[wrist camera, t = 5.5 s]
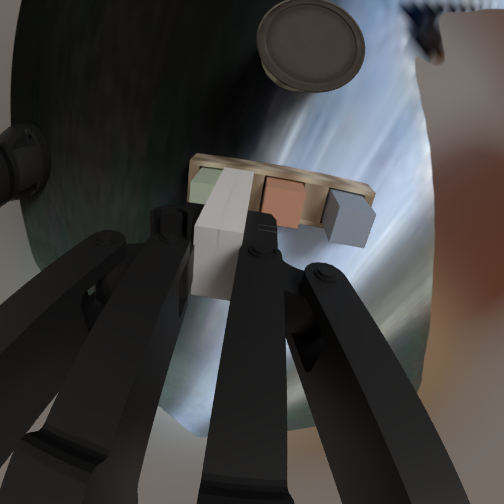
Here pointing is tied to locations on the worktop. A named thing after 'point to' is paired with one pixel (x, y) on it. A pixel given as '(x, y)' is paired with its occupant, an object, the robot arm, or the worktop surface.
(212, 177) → the sage block
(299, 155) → the worktop surface
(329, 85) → the coffee can
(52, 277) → the robot arm
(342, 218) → the slate block
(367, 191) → the socket rail
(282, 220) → the terracotta block
